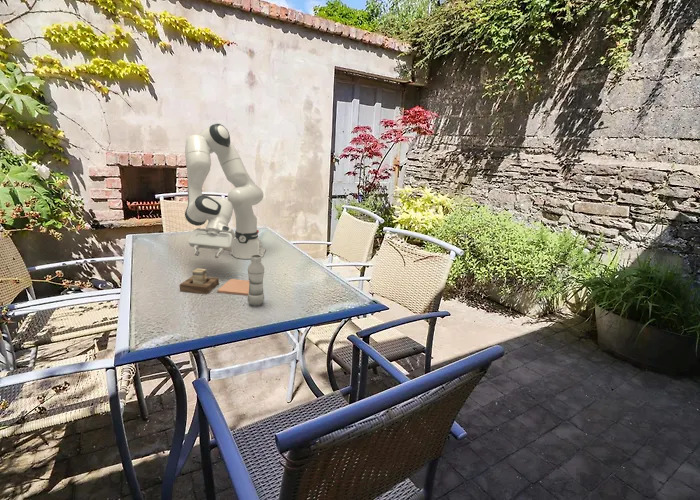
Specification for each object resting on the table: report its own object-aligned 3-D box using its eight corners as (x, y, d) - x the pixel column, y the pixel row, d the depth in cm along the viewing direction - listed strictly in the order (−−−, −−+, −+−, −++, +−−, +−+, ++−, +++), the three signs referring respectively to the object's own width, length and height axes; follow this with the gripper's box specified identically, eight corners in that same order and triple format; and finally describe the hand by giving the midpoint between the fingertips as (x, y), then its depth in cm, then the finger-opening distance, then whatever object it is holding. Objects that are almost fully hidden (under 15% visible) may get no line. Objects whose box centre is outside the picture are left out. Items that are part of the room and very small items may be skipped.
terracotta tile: (230, 280, 161) (230, 278, 161) (260, 283, 161) (260, 281, 160) (217, 292, 148) (217, 290, 148) (249, 295, 147) (249, 293, 147)
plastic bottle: (247, 308, 136) (247, 259, 131) (247, 300, 142) (247, 253, 137) (264, 307, 138) (265, 258, 133) (263, 300, 144) (264, 253, 139)
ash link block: (197, 285, 153) (197, 268, 151) (206, 286, 153) (206, 269, 151) (193, 289, 150) (192, 271, 147) (202, 290, 149) (201, 272, 147)
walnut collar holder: (193, 281, 157) (193, 275, 156) (218, 284, 157) (218, 277, 156) (179, 291, 146) (179, 284, 145) (206, 294, 146) (206, 287, 145)
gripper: (191, 224, 161) (180, 250, 154) (234, 228, 160) (225, 255, 153) (197, 231, 167) (186, 257, 160) (238, 236, 165) (230, 261, 158)
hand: (206, 256), depth 156 cm, fingers open, 8 cm apart
